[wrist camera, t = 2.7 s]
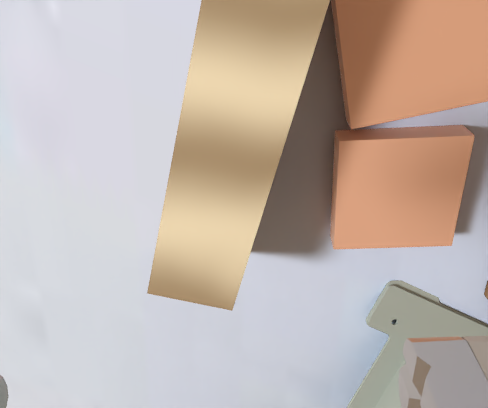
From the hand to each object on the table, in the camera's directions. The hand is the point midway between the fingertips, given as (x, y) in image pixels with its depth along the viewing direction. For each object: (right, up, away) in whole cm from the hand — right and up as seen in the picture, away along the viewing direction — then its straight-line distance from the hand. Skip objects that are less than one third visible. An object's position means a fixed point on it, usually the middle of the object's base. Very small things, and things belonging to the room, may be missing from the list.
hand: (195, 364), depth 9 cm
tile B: (+8, +11, +11) cm, 17 cm away
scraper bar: (0, +7, +13) cm, 15 cm away
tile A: (+8, +4, +14) cm, 17 cm away
